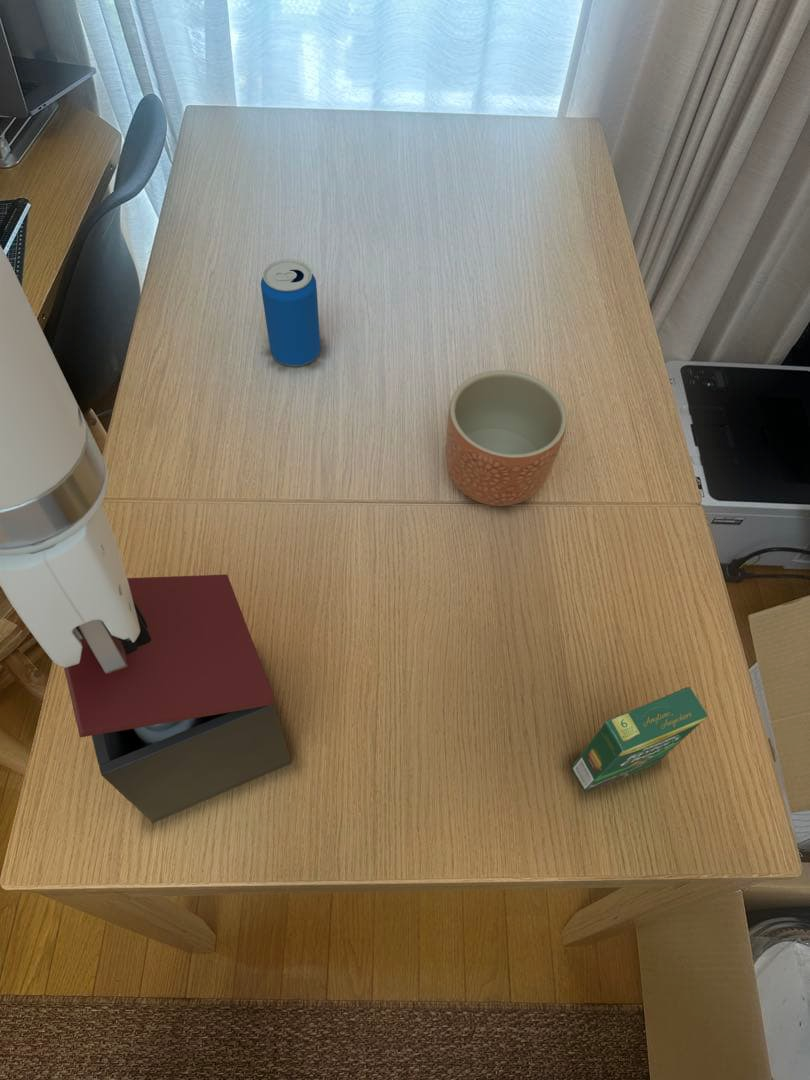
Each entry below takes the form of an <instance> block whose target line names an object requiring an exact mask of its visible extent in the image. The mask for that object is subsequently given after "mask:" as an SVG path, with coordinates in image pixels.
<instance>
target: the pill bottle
mask: <svg viewBox="0 0 810 1080" xmlns="http://www.w3.org/2000/svg"><path fill="white" fill-rule="evenodd" d="M205 722H208V720H207V718H206V716H204V717H198V718H192V719H186V720H181V721H175V722H169V723H163V724H157V725H151V726H145V727H139V728H133V729H134V731H135V733H136V734H137V735H138V737H139V738H140V739H141V740H142V742H143V743H144V744H145V745H146V746H148V745H151V744H153V743H156V742H158V741H161V740H163V739H166V738H168V737H171V736H173V735H176V734H178V733H181V732H183V731H185V730H188V729H190V728H193V727H195V726H198V725H200V724H203V723H205Z"/></svg>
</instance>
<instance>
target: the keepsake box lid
mask: <svg viewBox="0 0 810 1080" xmlns="http://www.w3.org/2000/svg"><path fill="white" fill-rule="evenodd" d="M127 579H128V583H129V587H130V591H131V595H132V597H133V599H134V601H135V603H136V604H137V606H138V608H139V610H140V611H141V613H142V615H143V617H144V619H145V621H146V624H147V630H148V632H149V634H150V637H151V641H150V642H149V643H147V644H145V645H142V646H139V647H138V649H137V650H136V651H134V652H132V653H130V654H127V655H126V659H127V664H128V667H125V668H122V669H120V670H117V671H114V672H112V673H109V674H106V673H105V672H104V670H103V668H102V666H101V665H100V663H99V661H98V660H97V658H96V656H95V655H94V653H93V651H92V650H91V648H90V646H89V644H88V643H87V641H86V639H85V638H83V639H81V640H80V642H81V643H82V652H81V658H80V662H79V664H76V665H73V666H70V667H66V668H63V670H64V674H65V678H66V682H67V688H68V691H69V696H70V701H71V705H72V710H73V713H74V717H75V723H76V726H77V730H78V731H77V732H78V736H79V737H80V738H86V737H92V735H98V734H104V733H110V732H116V731H121V730H127V729H133V728H139V727H145V726H151V725H157V724H163V723H169V722H175V721H181V720H186V719H192V718H198V717H204V716H210V715H216V714H222V713H228V712H234V711H240V710H246V709H251V708H257V707H263V706H269V705H272V703H274V702H275V701H276V698H275V695H274V693H273V691H272V688H271V685H270V682H269V680H268V677H267V675H266V672H265V670H264V666H263V665H262V662H261V659H260V656H259V653H258V652H257V649H256V646H255V644H254V640H253V638H252V635H251V633H250V630H249V628H248V625H247V623H246V620H245V617H244V615H243V611H242V610H241V607H240V604H239V601H238V599H237V596H236V594H235V591H234V588H233V586H232V583H231V580H230V578H229V575H228V574H204V575H178V576H177V575H174V576H173V575H172V576H150V577H148V576H147V577H127ZM83 637H84V636H83Z"/></svg>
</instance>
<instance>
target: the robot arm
mask: <svg viewBox="0 0 810 1080" xmlns="http://www.w3.org/2000/svg"><path fill="white" fill-rule="evenodd" d="M108 487H109V469H108V466H107V462H106V461H105V457H104V456H103V454H102V452H101V450H100V447H99V446H98V444H97V441H96V439H95V438H94V435H93V433H92V431H91V429H90V426H89V425H88V422H87V421H86V419H85V417H84V414H83V412H82V410H81V408H80V406H79V404H78V402H77V400H76V398H75V396H74V393H73V392H72V390H71V388H70V386H69V383H68V382H67V380H66V377H65V375H64V373H63V371H62V369H61V367H60V365H59V363H58V360H57V358H56V357H55V355H54V353H53V349H52V348H51V345H50V343H49V342H48V339H47V337H46V336H45V332H44V331H43V329H42V327H41V324H40V323H39V321H38V319H37V316H36V314H35V312H34V310H33V308H32V306H31V303H30V301H29V299H28V297H27V295H26V293H25V291H24V289H23V286H22V285H21V282H20V281H19V278H18V276H17V274H16V273H15V270H14V268H13V265H12V264H11V262H10V260H9V257H8V256H7V254H6V252H5V250H4V249H3V247H2V245H1V244H0V587H1V590H2V592H3V593H4V595H5V596H6V598H7V600H8V601H9V603H10V604H11V606H12V608H13V609H14V611H15V612H16V613H17V615H18V616H19V618H20V620H21V621H22V623H24V625H25V626H26V628H27V629H28V630H29V631H30V633H31V634H32V636H33V637H34V639H35V640H36V642H37V643H38V644H39V646H40V647H41V648H42V649H43V651H44V652H45V653H46V655H47V656H48V657H49V658H50V660H51V661H52V663H54V664H55V665H57V666H58V667H61V668H63V669H64V668H66V667H70V666H73V665H76V664H79V662H80V658H81V652H82V643H81V642H80V640H81V639H83V638H85V639H86V641H87V643H88V644H89V646H90V648H91V650H92V651H93V653H94V655H95V656H96V658H97V660H98V661H99V663H100V665H101V666H102V668H103V670H104V672H105V673H106V674H109V673H112V672H114V671H117V670H120V669H122V668H125V667H128V664H127V659H126V655H127V654H130V653H132V652H134V651H136V650H137V649H138V647H139V646H142V645H145V644H147V643H149V642H150V641H151V637H150V634H149V632H148V630H147V624H146V621H145V619H144V617H143V615H142V613H141V611H140V610H139V608H138V606H137V604H136V603H135V601H134V599H133V597H132V595H131V591H130V587H129V583H128V579H127V578H128V575H127V572H126V570H125V566H124V562H123V559H122V555H121V552H120V549H119V545H118V543H117V539H116V537H115V534H114V531H113V528H112V525H111V523H110V521H109V518H108V516H107V515H108V514H107V512H106V510H105V508H104V506H103V502H104V500H105V497H106V496H107V491H108ZM83 636H84V637H83Z"/></svg>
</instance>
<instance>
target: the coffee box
mask: <svg viewBox="0 0 810 1080" xmlns="http://www.w3.org/2000/svg"><path fill="white" fill-rule="evenodd" d="M707 718H708V714H707V712H706V710H705V709H704V707H703V705H702V703H701V702H700V701H699V699H698V698H697V696H696V694H695V693H694V691H693V689H692V688H691V687H690V686H686V687H683V688H682V689H680V690H677V691H675V692H672V693H669V694H667V695H665V696H662V697H661V698H658V699H656V700H652V701H651V702H648V703H646V704H643V705H641V706H639V707H636V708H634V709H632V710H629V711H627V712H624V713H622V714H620V715H618V716H615V717H613V718H611V719H608V720H606V721H605V722H604V724H603V725H602V726H601V727H600V728H599V730H598V731H597V732H596V734H594V735H595V736H593V738H592V739H591V740H590V742H589V743H588V744H587V746H586V747H585V748H584V750H583V751H582V752H581V753H580V755H579V756H578V757H577V758H576V759H575V761H574V762H573V764H572V765H571V767H570V768H571V771H572V772H573V774H574V775H575V778H576V779H577V781H578V783H579V784H580V786H581V788H582V789H583V791H584V793H585V794H586V793H590V792H592V791H594V790H597V789H599V788H602V787H604V786H607V785H610V784H612V783H614V782H617V781H619V780H621V779H624V778H626V777H628V776H631V775H633V774H636V773H639V772H642V771H644V770H645V769H648V768H651V767H653V766H655V765H658V764H659V763H660V762H661V760H663V759H664V758H665V757H666V756H668V754H669V753H670V752H671V751H672V750H673V749H674V748H676V746H678V744H680V743H681V742H682V741H683V740H684V739H685V738H686V737H687V736H689V735H690V734H691V733H692V732H693V731H695V730H696V728H697V727H698V726H699V725H701V723H703V722H704V721H705V720H707Z"/></svg>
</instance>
